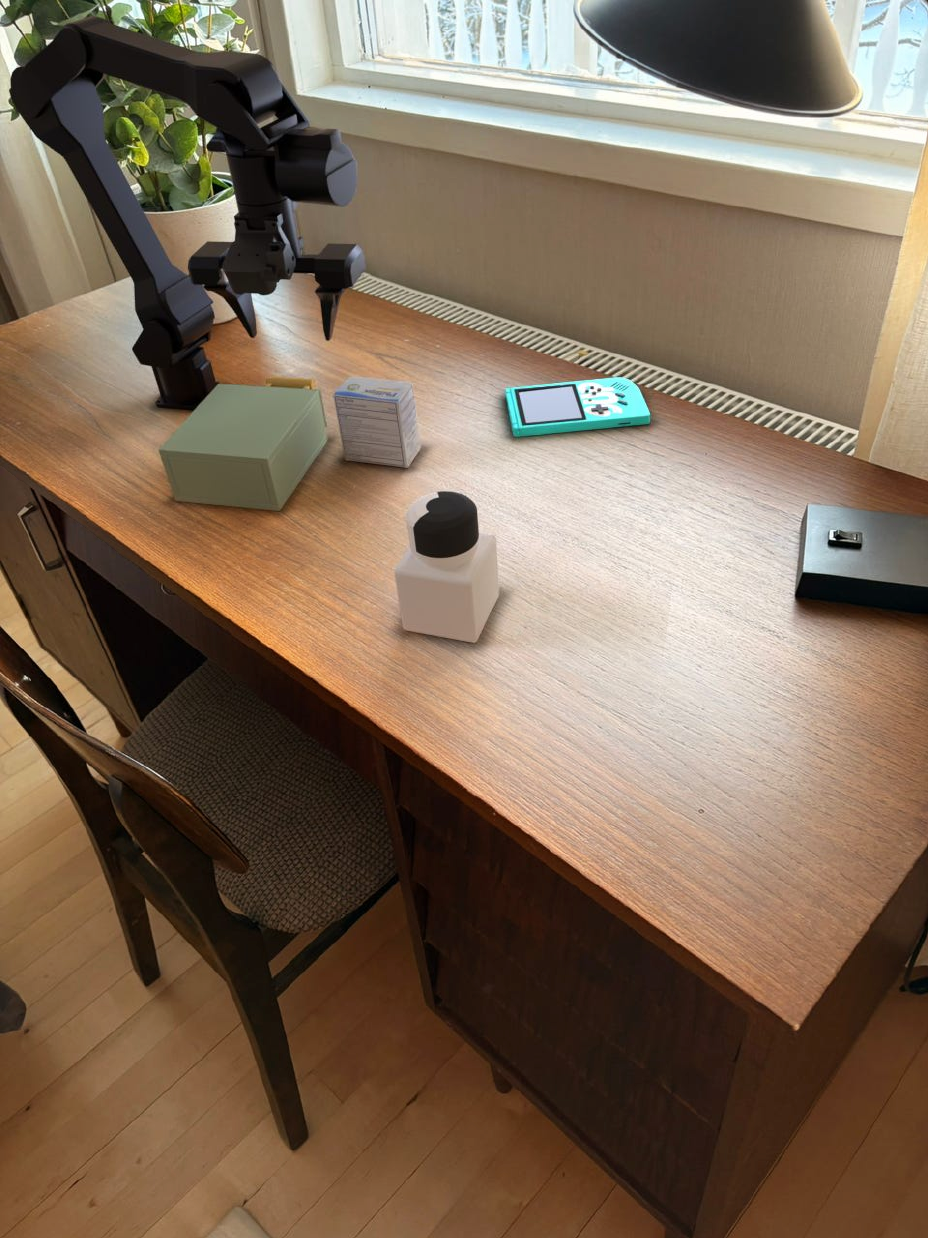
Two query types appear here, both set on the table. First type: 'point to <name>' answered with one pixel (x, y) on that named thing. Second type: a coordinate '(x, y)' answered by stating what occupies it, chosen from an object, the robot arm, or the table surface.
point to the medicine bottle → (447, 569)
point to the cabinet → (245, 446)
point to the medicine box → (377, 421)
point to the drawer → (293, 386)
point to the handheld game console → (575, 406)
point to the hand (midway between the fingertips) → (291, 337)
